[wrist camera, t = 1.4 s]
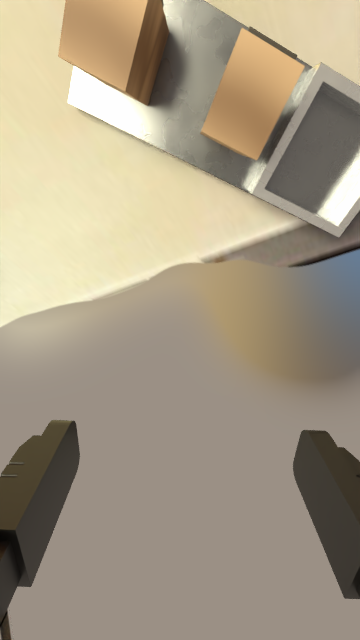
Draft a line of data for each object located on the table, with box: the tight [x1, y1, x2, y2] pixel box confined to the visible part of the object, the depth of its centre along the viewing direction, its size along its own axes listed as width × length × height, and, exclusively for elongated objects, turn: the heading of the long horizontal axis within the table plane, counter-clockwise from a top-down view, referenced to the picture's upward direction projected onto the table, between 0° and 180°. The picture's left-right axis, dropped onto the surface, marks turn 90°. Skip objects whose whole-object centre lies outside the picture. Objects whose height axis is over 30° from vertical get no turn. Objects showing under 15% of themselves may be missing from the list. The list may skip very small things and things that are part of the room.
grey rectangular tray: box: [68, 0, 360, 237], centre depth 24 cm, size 10×27×4 cm, turn 67°
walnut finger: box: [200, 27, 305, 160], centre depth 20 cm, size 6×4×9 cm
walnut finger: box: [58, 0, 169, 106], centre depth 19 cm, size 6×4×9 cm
